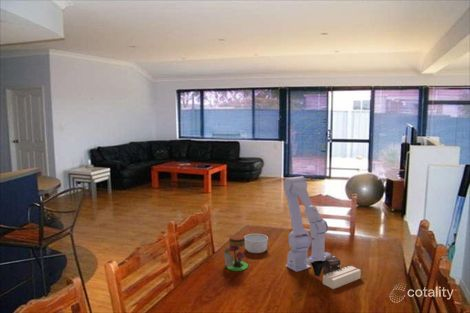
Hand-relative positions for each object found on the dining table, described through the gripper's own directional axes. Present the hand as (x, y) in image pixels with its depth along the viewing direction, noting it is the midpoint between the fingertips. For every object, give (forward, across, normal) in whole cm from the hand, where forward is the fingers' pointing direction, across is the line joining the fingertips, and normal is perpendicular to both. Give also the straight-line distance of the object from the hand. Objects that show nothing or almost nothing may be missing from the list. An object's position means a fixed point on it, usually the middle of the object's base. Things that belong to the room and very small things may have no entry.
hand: (317, 275), depth 173 cm
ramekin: (+2, -2, +44) cm, 44 cm away
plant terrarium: (+2, -23, +32) cm, 39 cm away
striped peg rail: (+1, +7, -8) cm, 11 cm away
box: (+2, +9, 0) cm, 9 cm away
